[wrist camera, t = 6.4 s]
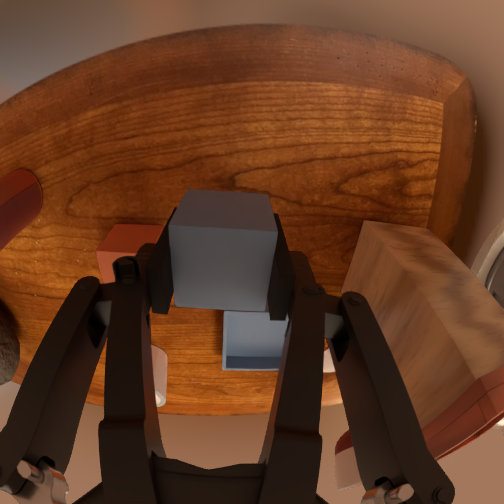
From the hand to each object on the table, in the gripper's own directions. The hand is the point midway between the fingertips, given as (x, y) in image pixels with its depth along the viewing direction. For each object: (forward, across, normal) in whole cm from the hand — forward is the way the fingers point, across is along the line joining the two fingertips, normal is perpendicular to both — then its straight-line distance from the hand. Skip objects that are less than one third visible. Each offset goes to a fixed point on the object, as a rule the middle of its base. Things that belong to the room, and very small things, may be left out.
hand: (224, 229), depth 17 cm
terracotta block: (+7, -8, -6) cm, 12 cm away
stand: (+7, +18, -6) cm, 20 cm away
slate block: (0, 0, 0) cm, 0 cm away
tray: (+7, +6, -17) cm, 19 cm away
